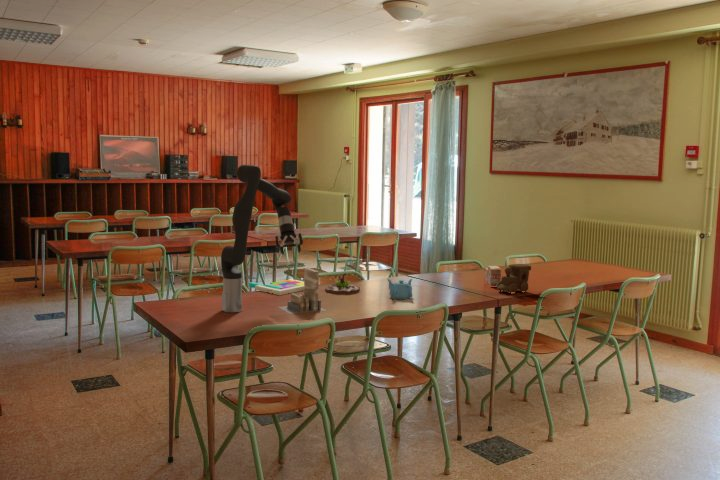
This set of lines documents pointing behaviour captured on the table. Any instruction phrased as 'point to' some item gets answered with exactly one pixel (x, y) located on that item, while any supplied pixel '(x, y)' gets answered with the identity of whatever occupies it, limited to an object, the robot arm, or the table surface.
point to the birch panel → (311, 286)
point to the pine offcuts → (300, 301)
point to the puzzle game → (280, 286)
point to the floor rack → (295, 308)
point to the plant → (342, 287)
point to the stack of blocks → (493, 275)
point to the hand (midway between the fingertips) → (291, 253)
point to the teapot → (400, 289)
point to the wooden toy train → (515, 278)
